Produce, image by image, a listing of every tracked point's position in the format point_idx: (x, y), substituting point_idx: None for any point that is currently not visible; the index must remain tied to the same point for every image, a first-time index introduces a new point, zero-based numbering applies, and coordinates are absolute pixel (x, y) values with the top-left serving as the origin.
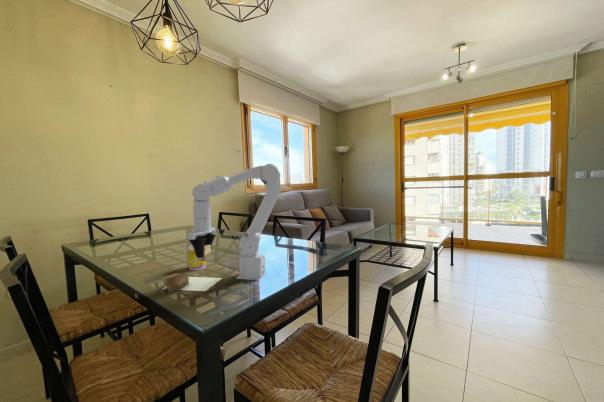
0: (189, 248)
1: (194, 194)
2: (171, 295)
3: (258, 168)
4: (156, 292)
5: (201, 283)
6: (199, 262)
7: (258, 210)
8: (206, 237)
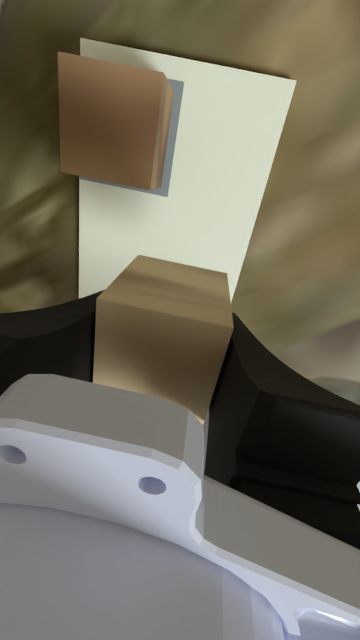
0: None
1: None
2: (40, 153)
3: None
4: (59, 21)
5: (160, 256)
6: None
7: None
8: (218, 466)
